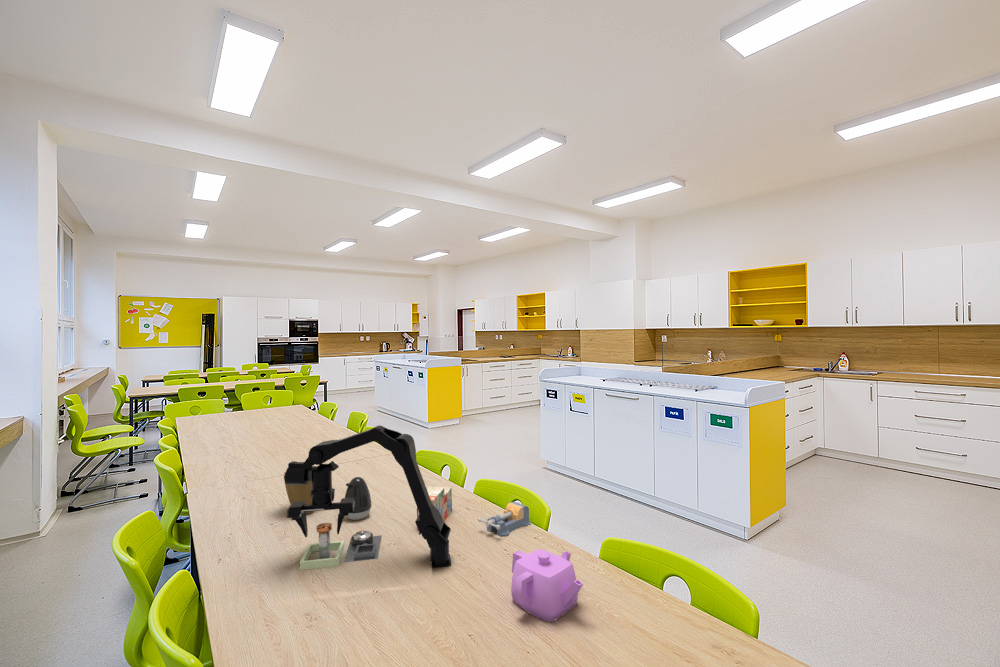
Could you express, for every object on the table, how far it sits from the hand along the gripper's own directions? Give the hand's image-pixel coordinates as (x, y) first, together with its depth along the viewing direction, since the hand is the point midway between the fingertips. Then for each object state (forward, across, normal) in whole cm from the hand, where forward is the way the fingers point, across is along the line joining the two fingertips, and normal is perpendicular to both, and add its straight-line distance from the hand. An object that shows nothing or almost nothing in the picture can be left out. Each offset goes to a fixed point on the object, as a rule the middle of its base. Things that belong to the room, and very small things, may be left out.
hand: (322, 535), depth 136 cm
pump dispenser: (+8, -6, -32) cm, 34 cm away
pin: (+7, -1, 0) cm, 7 cm away
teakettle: (+8, -61, +34) cm, 71 cm away
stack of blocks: (+8, -35, -22) cm, 42 cm away
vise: (+8, -59, -11) cm, 61 cm away
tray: (+8, 0, 0) cm, 8 cm away
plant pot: (+8, +15, -42) cm, 45 cm away
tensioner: (+8, -12, -4) cm, 15 cm away
